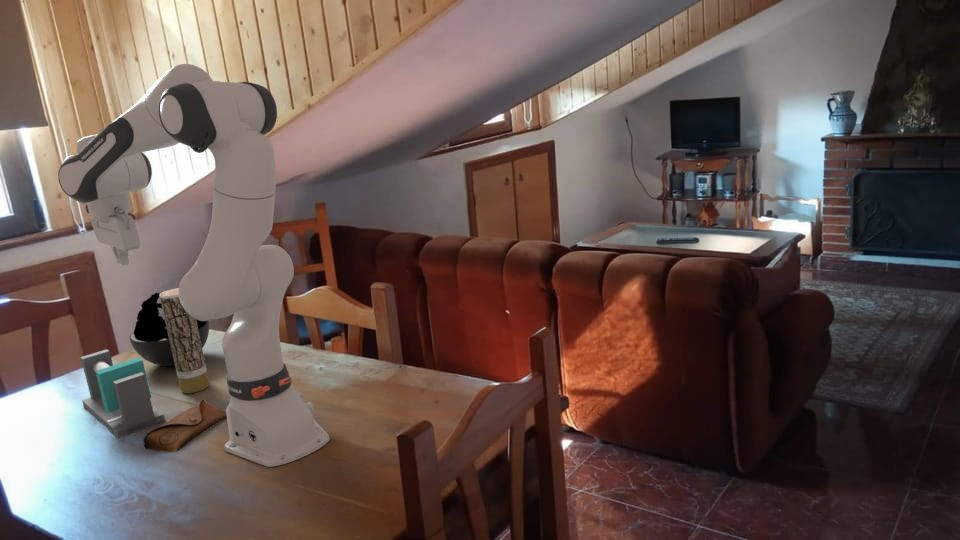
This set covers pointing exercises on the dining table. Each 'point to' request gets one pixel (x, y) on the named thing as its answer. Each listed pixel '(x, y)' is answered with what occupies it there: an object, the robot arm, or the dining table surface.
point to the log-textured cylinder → (184, 343)
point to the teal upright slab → (116, 373)
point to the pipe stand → (120, 398)
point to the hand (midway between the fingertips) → (123, 264)
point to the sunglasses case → (183, 428)
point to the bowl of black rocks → (157, 334)
